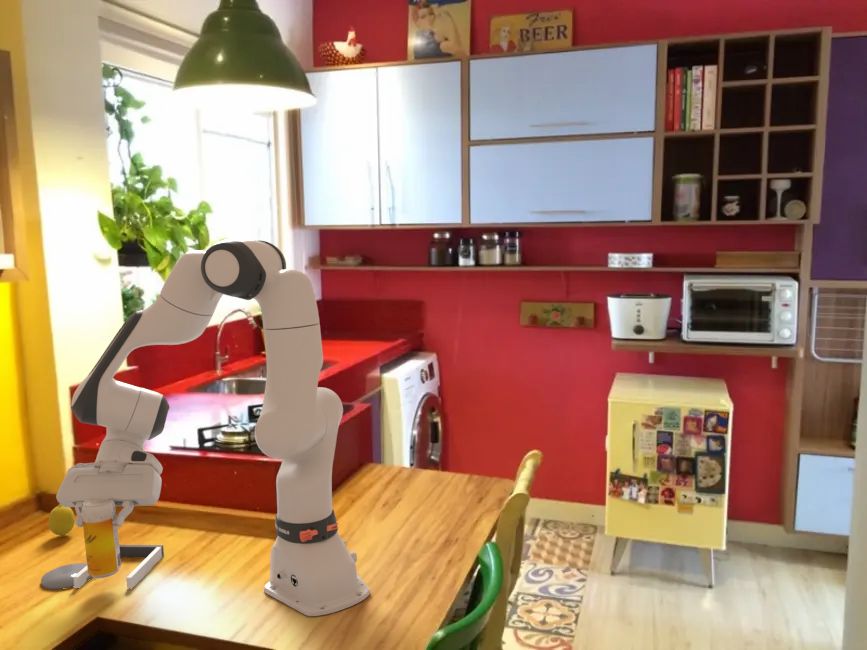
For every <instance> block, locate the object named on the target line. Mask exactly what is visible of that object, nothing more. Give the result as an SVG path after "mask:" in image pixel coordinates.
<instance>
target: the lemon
mask: <svg viewBox="0 0 867 650" xmlns="http://www.w3.org/2000/svg"><path fill="white" fill-rule="evenodd" d="M75 522H76V519H75V514H74V511H73V509H72V507H64V506H62V505H61V504H60V503H59V504H58V505H57V506H55V507H54V508H53V509H52V510H51V511H50V513H49V515H48V527H49V529H50V532H51V533H53V534H54V535H57V536H60V537H65V536H66V535H67V534H68V533H70V532H71V531H72V530H73V528H74V526H75V525H76V524H75Z"/></svg>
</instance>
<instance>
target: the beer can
mask: <svg viewBox="0 0 867 650" xmlns="http://www.w3.org/2000/svg"><path fill="white" fill-rule="evenodd" d="M116 507H117V506H115V502H114V501H113V499H112V497H111V500H110V499H93V498H91V499H88V500H86V501H85V502H84V503H83V507H82V509H81V510H82V520H83V536H84V537H83V538H84V547H85V557H86V564H87V568H88V574H90V575H91V576H92V577H93V578H94V579H105V578H109V577H111V576H114V575H116V574H117V573H118V572H119V570H120V568H121V567H122V558H120V548H119V545H120V539H119V529H118V527H119V526H114V525H113V524H112V520H113V517H114V515H117V510H116V509H117V508H116ZM93 578H92V579H93Z"/></svg>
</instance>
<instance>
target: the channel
mask: <svg viewBox="0 0 867 650" xmlns="http://www.w3.org/2000/svg"><path fill="white" fill-rule="evenodd" d="M119 548H120V557H146V558H144V559H143V560H142V561H141V562H140V564H138V565H137V567H135V568H134V569H133V570H132V572H130V573H129V575H127V576H126V587H127V588H130V589H129V590H133V589H134V588H135V587H136V586H137V585H138V584H139V583H140V582H139V581H141V580H142V579H143V578H145V576H147V574H148V573H149V572H150V571H151V570H152V569H153V568H154V567H155V566H156V565H157V564H158V563H159V562H160V561H161V560H162V559H163V557H164V556H165V552H164V545H163V544H119ZM158 561H159V562H158ZM157 562H158V563H157ZM156 563H157V564H156ZM155 564H156V565H155ZM154 565H155V566H154ZM153 566H154V567H153ZM89 575H90V574H88V568H87V566H86V567H84V568H83V569H82V570H81V571H80V572H79V573H77V574H76V575H75V576H74V577H73V579H74V587H73V589H74V588H79V589H81V588H82V587H83V586H84V585H85V584H86V583H87V582H88V581H87V580H86V578H87V577H88V576H89ZM85 582H86V583H85ZM138 582H139V583H138ZM84 583H85V584H84ZM137 583H138V584H137ZM83 584H84V585H83ZM136 584H137V585H136ZM82 585H83V586H82ZM135 585H136V586H135ZM81 586H82V587H81ZM134 586H135V587H134ZM133 587H134V588H133ZM132 588H133V589H132Z"/></svg>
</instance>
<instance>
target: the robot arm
mask: <svg viewBox="0 0 867 650" xmlns="http://www.w3.org/2000/svg"><path fill="white" fill-rule="evenodd" d="M223 295H225V296H227V297H232V298H233V297H234V298H238V299H242V300H246V301H250V300H252V299H253V300H255V301H256V302H257V303H258V305H259V308H260V311H261V317H262V319H261V320H262V327H263V328H262V329H263V336H264V337H263V338H264V346H265V358H266V359H265V360H266V376H265V377H266V380H265V386H264V394H263V395H264V396H263V399H262V401H263V402H262V407H261V412H260V414H259V417H258V419H257V421H256V424H255V425H254V426H255V427H254V438H255V442H256V445H257V447H258V448H259V450H261V452H262V453H263V454H264V455H265V456H267V457H269V458H271V459H275V460H282V462H281V465H280V466H279V468H278V469H279V470H278V472H277V475H276V481H275V485H276V486H275V487H276V506H277V509H276V510H277V513H276V514H275V522H274V525H275V533H276V535H277V537H276V539H275V541H274V543H273V545H272V547H271V549H270V557H269V558H270V559H269V561H270V562H269V563H270V564H269V565H270V566H269V581H267V583H265V584H264V587H263V589H264V590H263V592H264V593H265V594H266V595H268V596H271V598H274V599H275V600H278V602H279V601H280V602H281V603H283V604H285V605H286V606H289V607H290V608H292V609H293V610H296V611H298V612H299V613H301V614H303V615H305V616H307V617H320V616H325V615H329V614H333V613H336V612H340V611H342V610H345V609H347V608H350V607H353V606H355V605H356V604H359V603H360V602H362V601H363V600H365V599H367V597H369V596H370V594H371V590H370V587H369V586H368V585H367V584H366V583H365V581H364V579H362V577H361V575H359V574H358V572H357V566H356V563H357V562H358V556H357V553H356V552H355V550H353V551H349V549H348V548H347V543H346V540H345V539H342V537H341V536H340V534H339V532H338V530H339V526H338V525H339V522H337V516H336V514H335V510H334V509H333V491H332V489H333V487H332V485H333V484H332V483H333V482H332V476H333V475H332V474H333V467H334V466H333V464H334V458H335V451H336V445H337V438H338V432H339V427H340V424H341V420H342V417H343V414H344V406H343V403H342V402H343V401H342V400H341V398H340V397H339V394H337V393H336V392H335V391H333V390H332V389H330V388H327V387H322V386H321V387H320V386H319V387H318V385H319V379H320V378H319V377H320V373H321V371H322V368H323V364H324V354H323V344H322V343H323V342H322V334H321V325H320V316H319V309H318V308H319V307H318V304H317V298H316V295H315V291H314V287H313V284H312V282H311V279H310V278H309V276H308V275H307V274H306V273H303V272H302V271H300V270H297V269H289V268H288V269H287V261H286V258H285V256H284V253H282V251H281V249H279V247H277V246H276V245H275V244H273V243H271V242H268V241H266V240H257V239H251V238H235V239H233V238H231V239H230V238H229V239H224V240H221V241H217V242H216V243H214V244H212V245H211V246H210V247H208V249H207V250H206V251H204V250H189V251H187V252H185V253H183V254H182V255H181V256H180V257H179V258H178V260H177V262H176V263H175V264H174V265H173V268H172V269H171V271H170V273H169V274H168V276H167V278H166V279H165V281H164V283H163V285H162V288H161V290H160V292H159V295H158V296H157V298H156V299H155V300H154V302H153V303H152V304H150V305H149V306H147V308H145V309H141V310H135V311H134V312H133V313H132V314H131V315H129V316H128V318H127V319H126V320H125V322H124V323H123V324H122V326H121V327H120V328H119V329H118V331H117V333H116V334H115V335H114V337H113V338H112V340H111V342H110V343H109V344H108V345H107V347H106V349H105V350H104V352H103V354H101V356H100V358H99V359H98V360H97V362H96V364H95V365H94V367H93V368H92V369H91V371H90V372H89V373H88V375H87V376H86V377H85V378H84V379H83V380H82V381H81V382H80V384H79V385H78V386H77V388H76V389H75V391H74V393H73V396H72V398H71V402H70V403H71V405H70V409H71V411H72V414H74V416H75V418H76V419H77V420H78V421H79V422H80V423H81V424H87V425H93V426H101V427H105V429H106V432H105V433H106V434H105V436H104V438H103V440H102V441H101V444H100V446H99V449H98V451H97V454H96V459H95V460H94V462H87V463H85V462H84V463H83V462H78V463H76V464H74V465H72V466H71V467H70V468H68V469H67V472H66V475H65V477H64V479H63V480H62V482H61V484H60V486H59V488H58V491H57V493H56V495H55V498H56V500H57V503H59V505H60V504H61V505H62V506H64V507H70V508H74V509H75V513H76V519H75V524H74V525H75V526H76V527H78V528H82V527H83V520H82V510H81V509H82V507H83V503H84V502H85V501H86V500H88V499H91V498H93V499H110V500H111V497H112V499H113V501H114V502H115V507H123V508H122V509H121V510H120V511H119V512H118V514H116V515H114V517H113V520H112V524H113V525H114V526H117V527H123V525H124V522H125V519H126V518H127V517H128V516H129V515H130V514H131V513H132V512H133V510H134V507H139V506H154V505H156V503H157V502H158V501H159V498H160V495H161V490H162V483H163V482H162V477H161V474H162V473H163V469H164V467H163V466H162V464H161V462H160V461H159V460H158V459H157V458H156V457H155V456H154V455H153V453H151V452H148V451H145V445H146V442H147V441H150V440H152V439H154V438H156V437H158V436H160V435H161V434H162V433H163V431H164V428H165V425H166V421H167V416H168V413H169V410H170V408H171V407H170V404H169V401H168V400H167V398H166V397H165V395H164V394H162V393H160V392H157V391H154V390H151V389H147V388H145V387H140V386H135V385H133V384H129V383H126V382H123V381H119V380H116V379H115V378H114V377H115V375H116V373H117V372H118V371H119V369H120V368H121V366H122V365H123V363H124V361H126V359H127V357H128V356H129V354H131V352H133V351H134V350H135V349H136V350H137V349H138V348H141V347H146V346H147V347H148V346H156V345H157V346H158V345H159V346H161V345H163V346H164V345H165V346H167V345H168V346H173V345H175V346H176V345H182V344H187V343H190V342H192V341H194V340H197V339H198V338H199V337H201V336H202V335H203V333H204V332H205V331H206V328H207V327H208V326H209V324H210V321H211V320H212V318H213V316H214V313H215V311H216V308H217V306H218V304H219V302H220V300H221V298H222V297H223Z"/></svg>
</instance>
